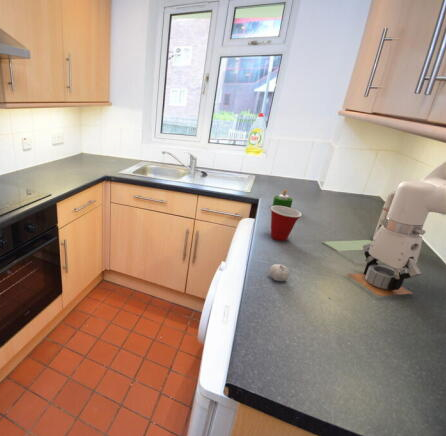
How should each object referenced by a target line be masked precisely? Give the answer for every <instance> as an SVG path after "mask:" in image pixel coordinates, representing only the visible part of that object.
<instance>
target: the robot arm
mask: <svg viewBox="0 0 446 436" xmlns="http://www.w3.org/2000/svg"><path fill="white" fill-rule="evenodd" d="M395 191H396V193H395V196H394V198H393V201H392V204H391V206H390V209H389V212H388V215H387V217H386V220H385V223H384V225H382V226H381V227H380V229H379V230H378V232H377V233H376V235H375V237H374V239H372V240H371V241H372V243H370V244H367V245H363V249H364V250H363V251H364V257H365V262H366V265H365V268H364V270H363V274H364V275H366V273H367V271H368V268H369V266H370V265H379V263H378V262H381V263H383V264H385V265H387V266H388V267H389V268H392V269H394V276H395V277H392V278H391V280H390V283H389V285H388V289H389V290H399V289H400V288H401V286H402V285H403V284H404V280H407V279H411V278H414V277H418V276H421V275H422V272H421V270H420V268H419V267H418V265H417V262H418V260H419V257H420V253H421V249H422V245H423V235H425V234H426V230H424V229H423V228H424V225H425V222H426V220H427V218H428V215H429V213H436V214H441V215H445V216H446V160H445V161H442V162H440V163H439V164H438V165H436V166H435V167H434V168H433V169H432V170H430V172H427V174H426V175H425V176H424V177H423V178H421V179H420V180H404V181H401V182H400V183H399V184H398V186H397V188H396V190H395ZM408 270H409V271H408Z"/></svg>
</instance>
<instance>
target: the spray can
mask: <svg viewBox="0 0 446 436" xmlns="http://www.w3.org/2000/svg"><path fill="white" fill-rule="evenodd" d="M395 193H396V190H395V191H394V190H392V191H391V192H390V193H388V195H387V197H386V199H385V202H384V204H383V207H382V210H381V213H380V216H379V219H378V222H377V225H376V227H375V231H374V234H373V237H372V240H373V239H374V237H375V235H376V233H377V232H378V230H379V229H380V227H381V226H382V225H384V223H385V220H386V217H387V215H388V212H389V209H390V206H391V204H392V201H393V198H394V196H395Z"/></svg>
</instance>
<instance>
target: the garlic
mask: <svg viewBox="0 0 446 436" xmlns="http://www.w3.org/2000/svg"><path fill="white" fill-rule="evenodd" d="M290 273H291V271H290V270H289V268H287V266H285V265H283V264H279V263H276V264H273V265H271V266H270V268H269V276H270V277H271V278H272V279H273V280H274V281H276V282H284V281H287V280H288V278H289V277H290V275H291V274H290Z"/></svg>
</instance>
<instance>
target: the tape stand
mask: <svg viewBox="0 0 446 436" xmlns="http://www.w3.org/2000/svg"><path fill="white" fill-rule="evenodd" d="M377 272H379V273H382V274H384V275H388V274H387V273H386V272H383V271H377ZM363 273H364V272H363ZM363 273H362V272H361V273H360V272H359V273H346V275H347V276H348V277H350V278H351V279H353V280H354V281H355V282H357V283H359V284H361V285H362V286H363V287H365V288H367V289H368V290H369V291H370V292H372V293H374V294H375V295H377V296H378V297H381V296H383V297H385V296H397V295H412V294H414V293H413V292H412V291H410V290H409V289H407V288H405V287H404V286H402V285H401V288H400V289H399V290H389V289H383V288H379V287H376V286H374V285H372V284H370V283H369V282H367V281H366V279H365V276H366V275H364V274H363Z"/></svg>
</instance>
